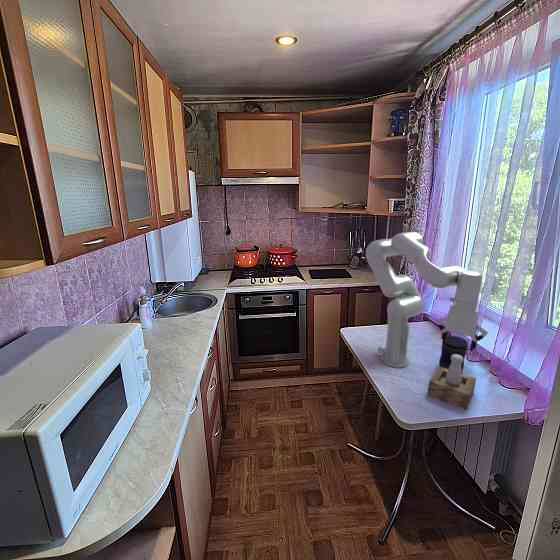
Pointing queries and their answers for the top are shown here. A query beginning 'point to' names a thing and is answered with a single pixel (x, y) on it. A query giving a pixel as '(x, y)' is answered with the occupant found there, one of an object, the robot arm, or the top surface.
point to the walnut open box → (451, 389)
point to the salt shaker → (454, 371)
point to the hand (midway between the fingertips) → (457, 345)
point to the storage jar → (452, 351)
